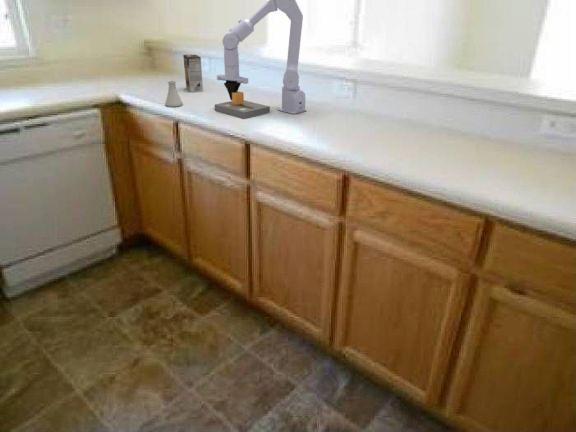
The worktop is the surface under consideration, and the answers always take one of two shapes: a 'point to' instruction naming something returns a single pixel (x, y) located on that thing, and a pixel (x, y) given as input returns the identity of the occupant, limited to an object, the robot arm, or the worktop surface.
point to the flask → (173, 96)
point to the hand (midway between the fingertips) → (233, 99)
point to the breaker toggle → (237, 98)
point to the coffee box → (193, 73)
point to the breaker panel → (242, 109)
